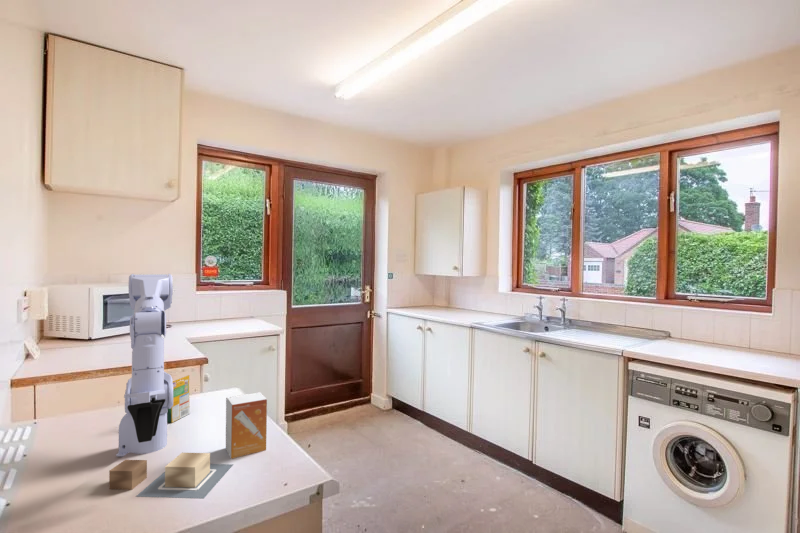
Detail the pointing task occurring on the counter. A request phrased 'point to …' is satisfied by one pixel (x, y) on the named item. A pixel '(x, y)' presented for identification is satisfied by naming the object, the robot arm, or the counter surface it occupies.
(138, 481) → the walnut block
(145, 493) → the board
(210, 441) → the counter surface
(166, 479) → the maple block
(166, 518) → the counter surface
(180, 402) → the crayon box
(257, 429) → the small box
